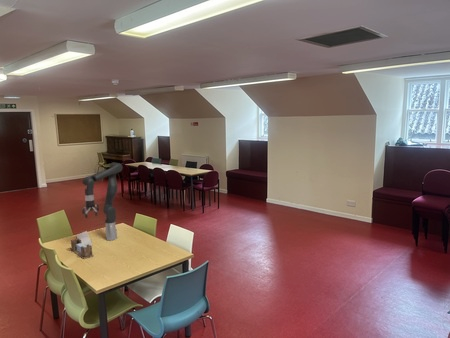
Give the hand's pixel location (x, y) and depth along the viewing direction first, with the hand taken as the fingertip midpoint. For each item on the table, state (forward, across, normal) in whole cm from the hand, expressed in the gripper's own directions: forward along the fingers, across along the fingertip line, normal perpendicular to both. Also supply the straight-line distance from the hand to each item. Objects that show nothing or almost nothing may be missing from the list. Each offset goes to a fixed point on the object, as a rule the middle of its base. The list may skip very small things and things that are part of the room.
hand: (91, 216), depth 292 cm
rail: (+27, +14, +8) cm, 31 cm away
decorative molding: (+29, 0, -20) cm, 35 cm away
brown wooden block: (+28, +14, +8) cm, 32 cm away
